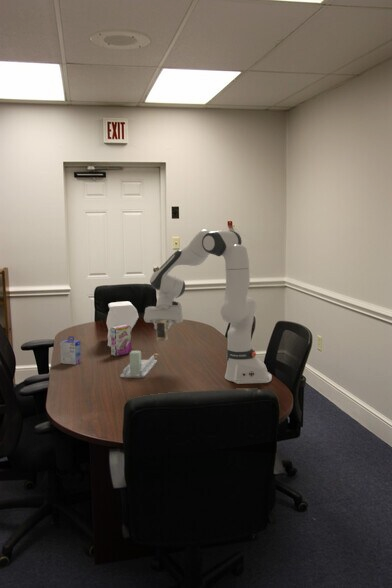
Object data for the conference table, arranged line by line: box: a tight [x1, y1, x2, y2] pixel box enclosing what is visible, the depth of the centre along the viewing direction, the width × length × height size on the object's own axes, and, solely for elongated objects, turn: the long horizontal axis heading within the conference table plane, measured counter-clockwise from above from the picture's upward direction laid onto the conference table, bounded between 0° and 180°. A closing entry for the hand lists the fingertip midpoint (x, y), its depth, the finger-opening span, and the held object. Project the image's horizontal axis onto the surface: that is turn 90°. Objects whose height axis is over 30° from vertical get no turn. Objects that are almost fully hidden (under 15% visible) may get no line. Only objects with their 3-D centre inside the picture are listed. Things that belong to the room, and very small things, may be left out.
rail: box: [119, 350, 158, 379], centre depth 253 cm, size 12×28×11 cm, turn 172°
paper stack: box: [106, 300, 139, 348], centre depth 308 cm, size 21×27×26 cm
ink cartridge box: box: [59, 335, 82, 365], centre depth 266 cm, size 10×6×14 cm, turn 70°
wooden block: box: [156, 320, 169, 342], centre depth 251 cm, size 4×6×10 cm
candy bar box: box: [110, 325, 132, 357], centre depth 282 cm, size 11×5×16 cm, turn 134°
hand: (161, 328), depth 250 cm, fingers closed on wooden block, 4 cm apart
